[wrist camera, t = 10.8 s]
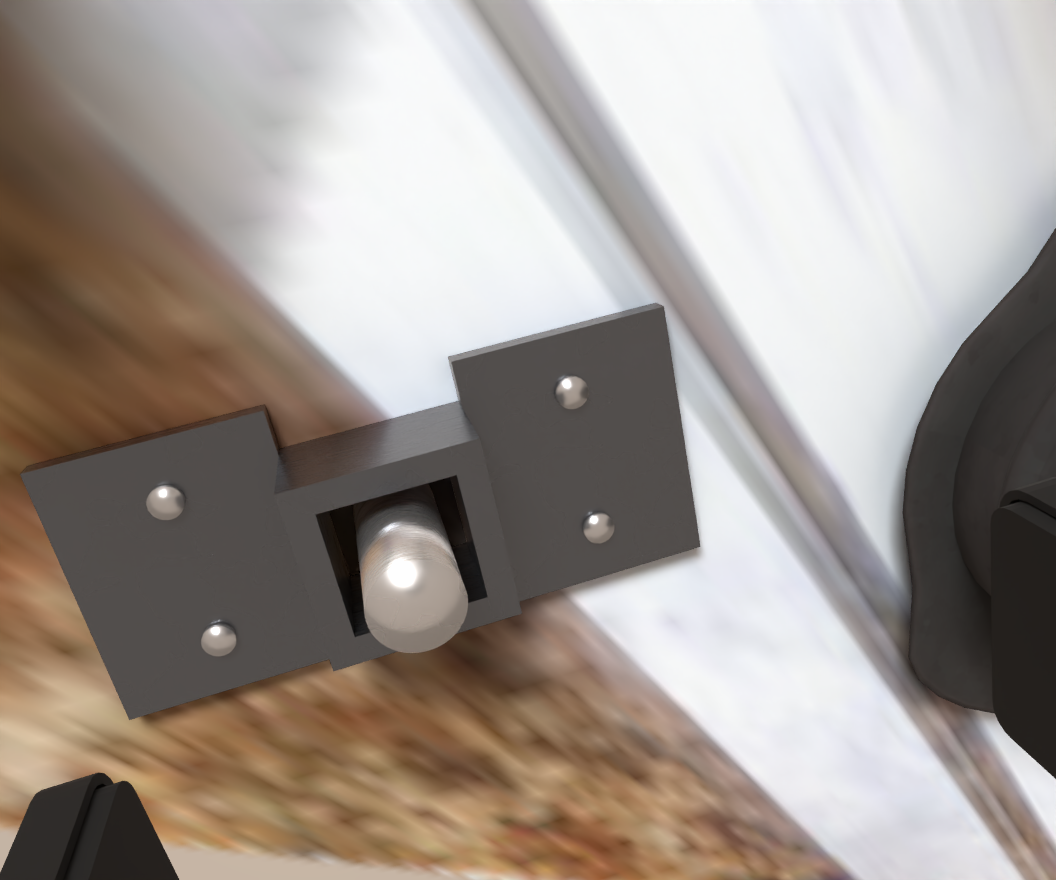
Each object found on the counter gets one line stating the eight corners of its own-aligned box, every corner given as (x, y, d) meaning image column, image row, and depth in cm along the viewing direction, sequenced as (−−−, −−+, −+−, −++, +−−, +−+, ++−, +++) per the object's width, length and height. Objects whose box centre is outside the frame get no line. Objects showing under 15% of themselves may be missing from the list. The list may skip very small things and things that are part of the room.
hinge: (655, 303, 33) (705, 325, 29) (692, 538, 37) (740, 589, 32) (27, 466, 30) (-20, 517, 26) (133, 707, 33) (107, 787, 29)
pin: (423, 457, 33) (455, 547, 25) (442, 528, 34) (478, 635, 27) (343, 479, 32) (352, 578, 25) (365, 550, 34) (379, 665, 26)
